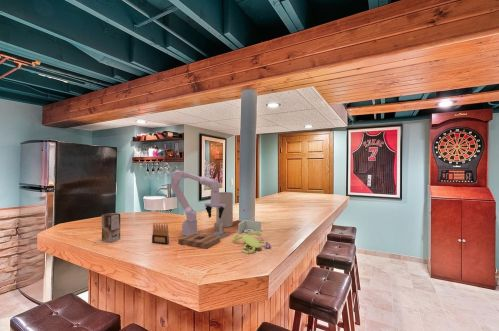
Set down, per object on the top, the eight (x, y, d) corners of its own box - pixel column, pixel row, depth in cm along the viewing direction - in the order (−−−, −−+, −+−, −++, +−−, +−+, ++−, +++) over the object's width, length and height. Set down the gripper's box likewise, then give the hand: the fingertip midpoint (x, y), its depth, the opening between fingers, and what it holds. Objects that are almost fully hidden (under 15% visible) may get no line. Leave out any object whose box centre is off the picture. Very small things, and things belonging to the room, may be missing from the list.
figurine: (258, 237, 157) (258, 229, 157) (276, 251, 131) (276, 241, 131) (230, 240, 150) (230, 231, 150) (243, 255, 125) (243, 244, 125)
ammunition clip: (169, 243, 143) (169, 223, 143) (167, 244, 141) (167, 224, 141) (153, 242, 146) (153, 222, 146) (151, 243, 144) (151, 222, 144)
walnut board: (178, 243, 143) (178, 238, 143) (193, 237, 155) (193, 232, 155) (206, 249, 134) (206, 243, 134) (220, 241, 146) (220, 236, 146)
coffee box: (120, 239, 151) (120, 213, 151) (111, 242, 145) (111, 215, 145) (111, 237, 155) (111, 212, 155) (101, 240, 149) (101, 214, 149)
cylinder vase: (214, 227, 181) (214, 193, 181) (219, 223, 193) (219, 192, 193) (230, 228, 179) (230, 194, 179) (234, 224, 191) (234, 192, 191)
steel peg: (214, 235, 158) (214, 223, 158) (217, 233, 162) (217, 221, 162) (219, 236, 156) (219, 223, 156) (222, 234, 160) (222, 222, 160)
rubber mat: (208, 236, 157) (208, 235, 157) (217, 232, 166) (217, 231, 166) (221, 238, 153) (221, 237, 153) (229, 234, 162) (229, 233, 162)
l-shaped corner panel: (238, 234, 163) (238, 223, 163) (245, 230, 175) (245, 220, 175) (255, 236, 159) (255, 225, 159) (260, 232, 170) (260, 221, 170)
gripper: (202, 198, 164) (202, 218, 164) (222, 198, 160) (222, 219, 160) (207, 196, 171) (207, 216, 171) (226, 197, 167) (226, 217, 167)
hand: (215, 217), depth 166 cm, fingers open, 7 cm apart
